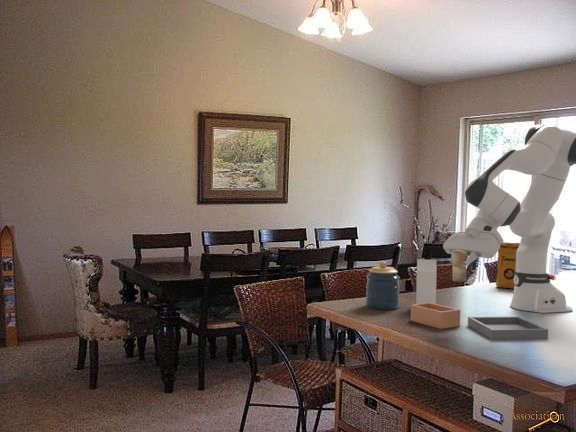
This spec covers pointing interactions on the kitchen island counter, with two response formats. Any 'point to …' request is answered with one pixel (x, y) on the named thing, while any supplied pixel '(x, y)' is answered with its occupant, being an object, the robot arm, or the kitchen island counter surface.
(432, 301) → the milk carton
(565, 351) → the kitchen island counter surface
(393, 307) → the canister
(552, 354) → the kitchen island counter surface
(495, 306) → the kitchen island counter surface
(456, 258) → the birch peg
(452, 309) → the terracotta planter box
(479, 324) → the charcoal tray
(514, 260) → the coffee package
